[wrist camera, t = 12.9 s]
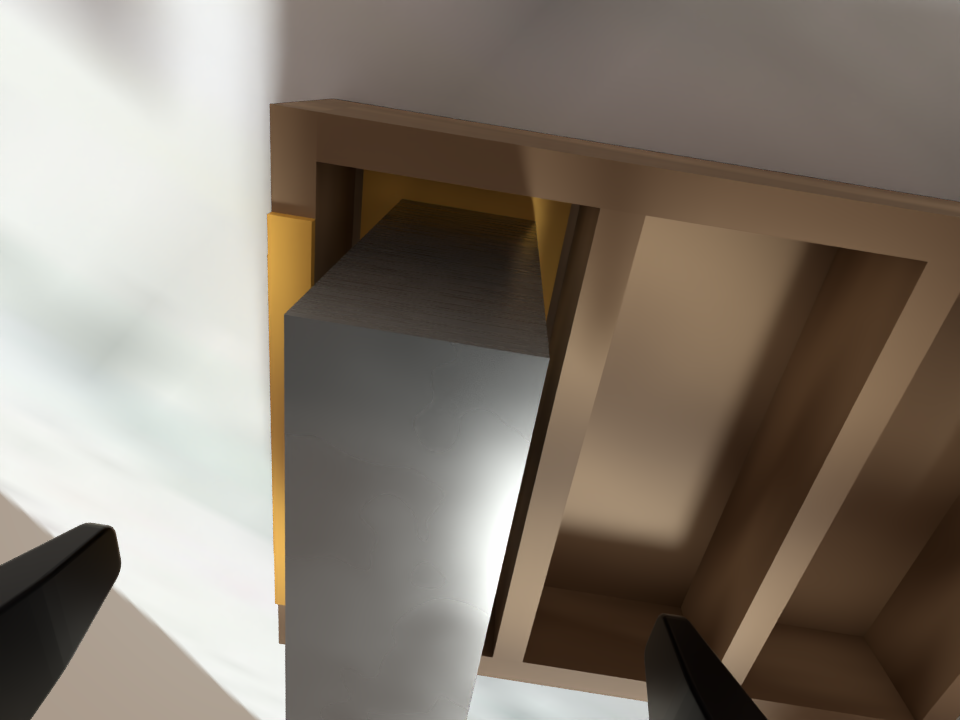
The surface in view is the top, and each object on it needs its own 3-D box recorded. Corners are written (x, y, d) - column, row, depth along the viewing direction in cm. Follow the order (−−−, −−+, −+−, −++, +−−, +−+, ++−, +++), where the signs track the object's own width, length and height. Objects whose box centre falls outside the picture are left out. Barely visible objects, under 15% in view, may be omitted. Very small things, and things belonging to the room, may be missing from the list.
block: (471, 551, 17) (442, 824, 11) (372, 535, 17) (285, 799, 11) (535, 221, 13) (549, 358, 6) (402, 199, 13) (283, 315, 6)
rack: (863, 635, 19) (936, 754, 15) (310, 547, 19) (264, 648, 15) (1134, 230, 13) (1349, 282, 9) (318, 96, 13) (247, 101, 9)
